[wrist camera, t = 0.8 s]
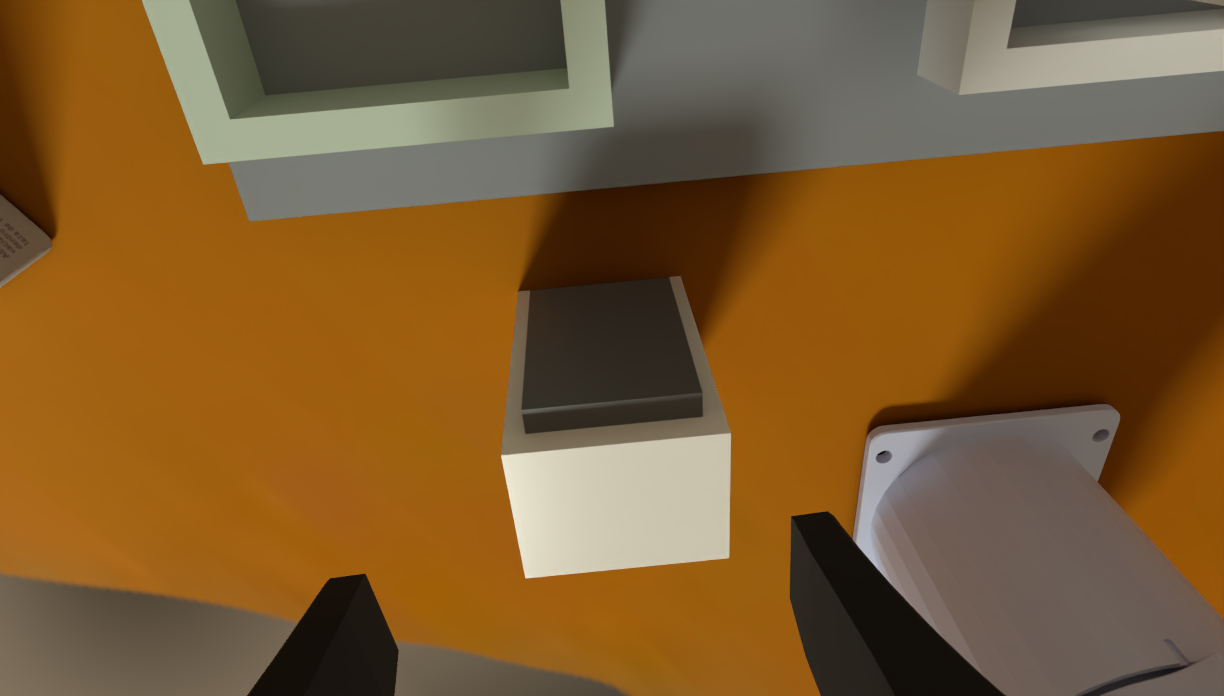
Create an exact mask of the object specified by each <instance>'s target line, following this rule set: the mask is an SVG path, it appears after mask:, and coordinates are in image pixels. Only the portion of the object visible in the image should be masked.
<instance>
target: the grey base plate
mask: <svg viewBox="0 0 1224 696" xmlns="http://www.w3.org/2000/svg"><path fill="white" fill-rule="evenodd" d="M142 2H143V5H144V7H145V10H146V13H147V15H148V18H149V21H150V23H151V26H152V29H153V31H154V34H155V37H156V39H157V42H158V45H159V48H160V50H161V53H162V56H163V58H164V61H165V64H166V66H167V69H168V72H169V74H170V77H171V80H172V82H173V85H174V88H175V90H176V93H177V96H178V98H179V101H180V104H181V106H182V109H183V112H184V114H185V117H186V120H187V122H188V125H189V128H190V130H191V133H192V136H193V138H194V141H195V144H196V146H197V149H198V152H199V154H200V157H201V160H202V163H203V164H214V163H225V162H229V165H230V168H231V170H232V173H233V176H234V179H235V182H236V185H237V187H238V190H239V193H240V196H241V199H242V201H243V204H244V207H245V210H246V213H247V216H248V218H249V221H260V220H270V219H281V218H292V217H303V216H313V215H324V214H335V213H345V212H356V211H367V210H378V209H388V208H399V207H410V206H421V205H431V204H442V203H453V202H464V201H474V200H485V199H496V198H507V197H517V196H528V195H539V194H550V193H560V192H571V191H582V190H592V189H603V188H614V187H625V186H635V185H646V184H657V183H668V182H678V181H689V180H700V179H711V178H721V177H732V176H743V175H754V174H764V173H775V172H786V171H797V170H807V169H818V168H829V167H840V166H850V165H861V164H872V163H882V162H893V161H904V160H915V159H925V158H936V157H947V156H958V155H968V154H979V153H990V152H1001V151H1011V150H1022V149H1033V148H1044V147H1054V146H1065V145H1076V144H1087V143H1097V142H1108V141H1119V140H1130V139H1140V138H1151V137H1162V136H1172V135H1183V134H1194V133H1205V132H1215V131H1224V6H1222V5H1216V4H1210V3H1204V2H1198V1H1192V0H142Z"/></svg>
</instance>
